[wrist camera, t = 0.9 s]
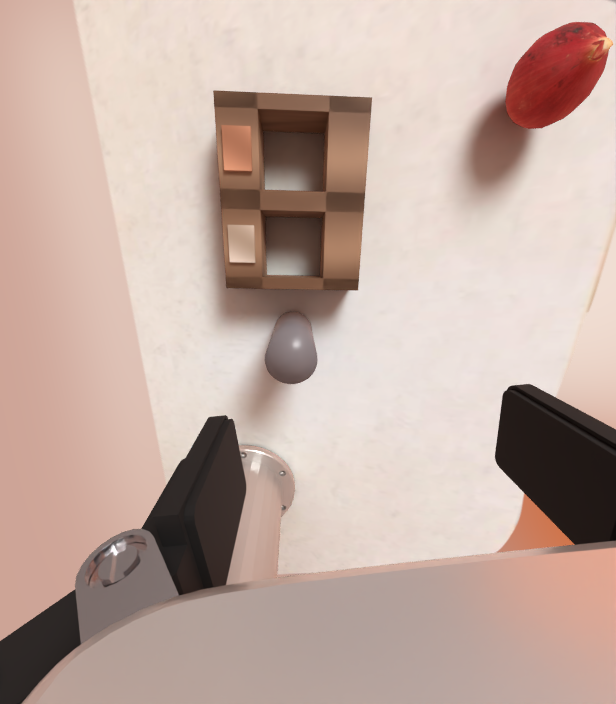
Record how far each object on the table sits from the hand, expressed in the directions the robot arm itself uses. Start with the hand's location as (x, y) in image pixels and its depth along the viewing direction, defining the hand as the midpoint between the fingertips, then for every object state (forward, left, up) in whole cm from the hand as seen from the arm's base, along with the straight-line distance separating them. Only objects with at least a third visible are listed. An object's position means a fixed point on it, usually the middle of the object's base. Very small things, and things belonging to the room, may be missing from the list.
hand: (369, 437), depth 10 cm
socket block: (+11, +3, -22) cm, 25 cm away
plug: (-1, +3, -22) cm, 22 cm away
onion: (+20, -17, -22) cm, 34 cm away
